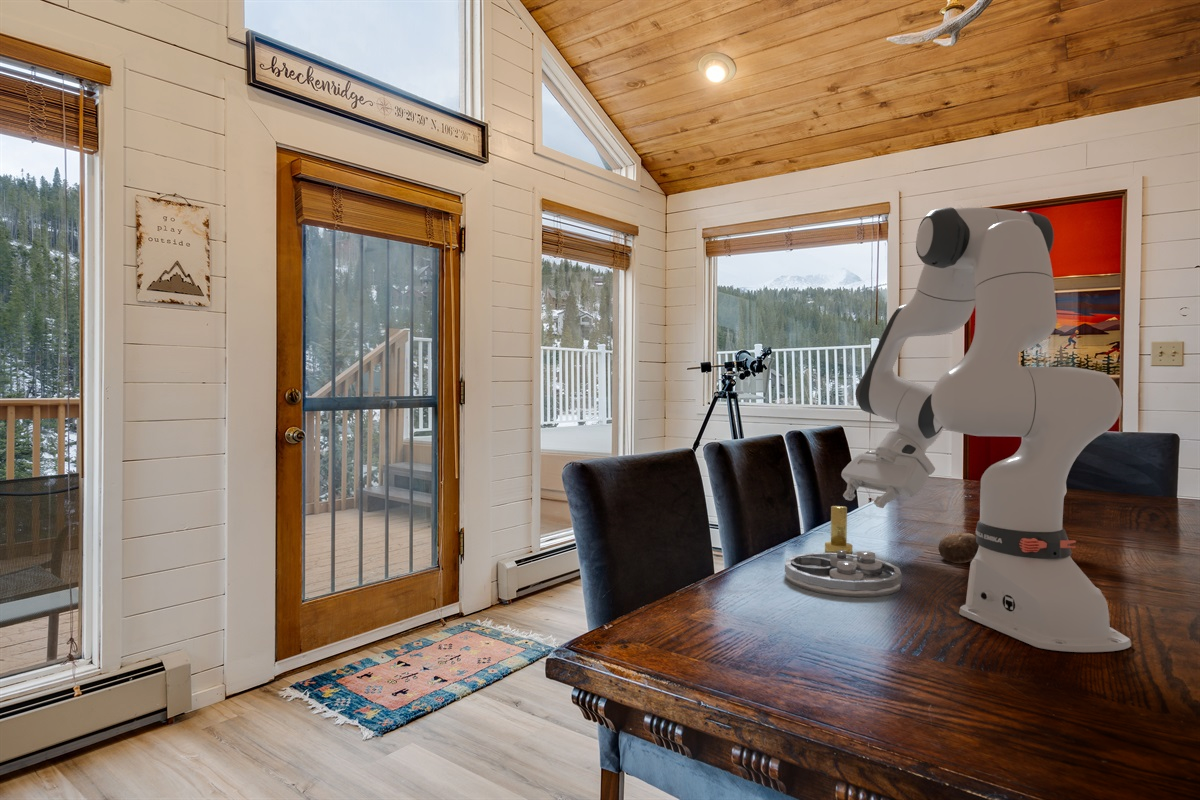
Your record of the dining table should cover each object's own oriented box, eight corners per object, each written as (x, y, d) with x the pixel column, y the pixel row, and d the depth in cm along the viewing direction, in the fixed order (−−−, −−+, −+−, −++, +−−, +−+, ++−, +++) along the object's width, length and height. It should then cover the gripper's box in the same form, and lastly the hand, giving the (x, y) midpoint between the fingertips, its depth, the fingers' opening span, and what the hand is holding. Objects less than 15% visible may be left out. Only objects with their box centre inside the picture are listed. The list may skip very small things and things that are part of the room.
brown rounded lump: (977, 541, 143) (966, 519, 142) (994, 564, 136) (982, 542, 134) (940, 556, 146) (928, 535, 144) (954, 580, 138) (942, 558, 137)
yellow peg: (856, 555, 144) (857, 509, 144) (830, 556, 143) (831, 509, 143) (845, 549, 149) (846, 505, 149) (820, 549, 149) (821, 505, 149)
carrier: (922, 596, 117) (923, 564, 116) (808, 598, 115) (808, 566, 115) (869, 564, 137) (869, 538, 136) (771, 566, 135) (771, 539, 135)
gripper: (856, 441, 160) (822, 485, 157) (926, 450, 141) (888, 499, 138) (871, 460, 162) (837, 503, 159) (942, 470, 143) (905, 520, 140)
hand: (861, 502), depth 148 cm, fingers open, 8 cm apart
